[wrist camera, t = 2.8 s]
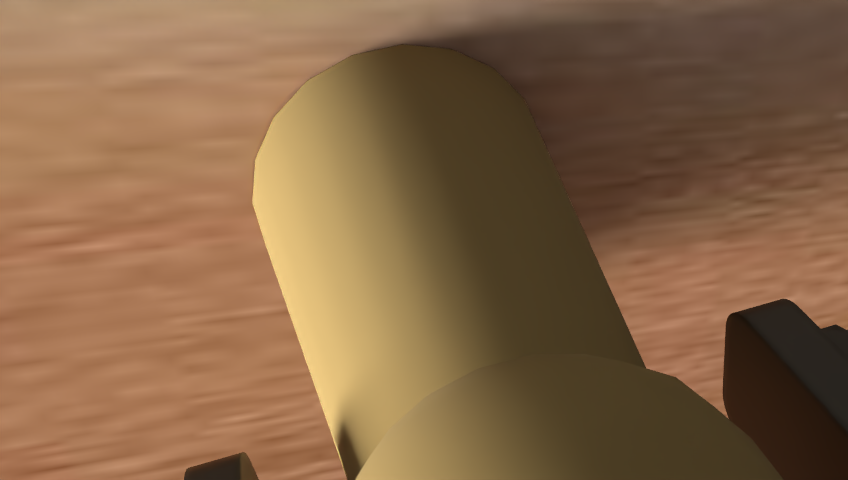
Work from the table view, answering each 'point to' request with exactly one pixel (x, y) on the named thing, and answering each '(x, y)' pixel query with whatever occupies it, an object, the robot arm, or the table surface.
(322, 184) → the tan game pawn
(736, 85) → the table surface
